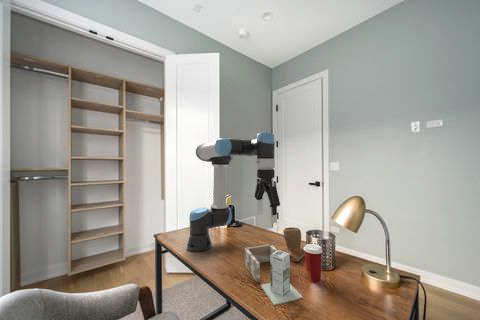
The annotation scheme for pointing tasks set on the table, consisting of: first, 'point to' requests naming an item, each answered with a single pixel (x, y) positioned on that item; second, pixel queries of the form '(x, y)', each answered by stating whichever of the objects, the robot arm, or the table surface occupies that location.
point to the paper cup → (313, 262)
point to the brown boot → (293, 243)
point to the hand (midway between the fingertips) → (266, 218)
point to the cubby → (257, 258)
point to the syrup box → (280, 272)
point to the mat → (279, 299)
